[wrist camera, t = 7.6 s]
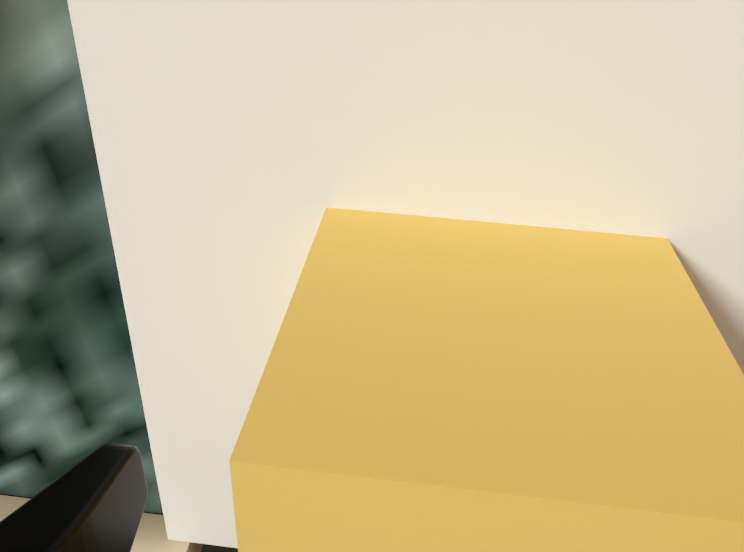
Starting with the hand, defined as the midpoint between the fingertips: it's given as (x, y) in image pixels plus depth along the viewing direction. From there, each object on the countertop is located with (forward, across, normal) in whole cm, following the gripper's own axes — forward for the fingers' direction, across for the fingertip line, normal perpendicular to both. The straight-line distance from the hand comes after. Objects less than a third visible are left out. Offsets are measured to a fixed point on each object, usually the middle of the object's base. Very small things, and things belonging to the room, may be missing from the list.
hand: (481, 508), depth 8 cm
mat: (+4, 0, 0) cm, 4 cm away
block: (+3, 0, 0) cm, 3 cm away
